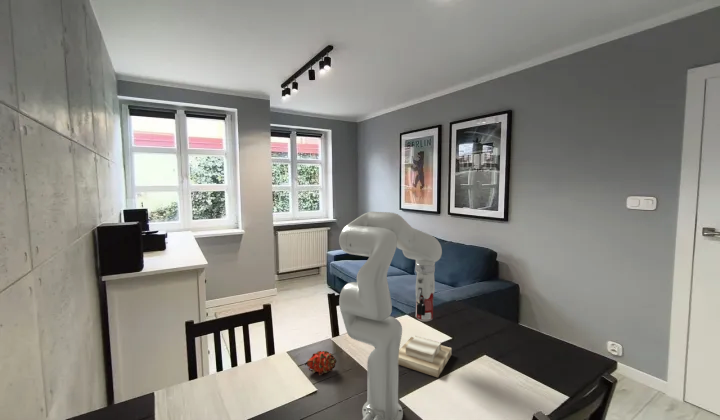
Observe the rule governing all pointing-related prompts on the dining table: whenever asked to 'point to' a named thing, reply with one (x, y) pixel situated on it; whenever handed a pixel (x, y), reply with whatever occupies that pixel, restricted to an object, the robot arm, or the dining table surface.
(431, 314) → the soda can
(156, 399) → the dining table surface
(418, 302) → the robot arm
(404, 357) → the birch riser
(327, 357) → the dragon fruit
